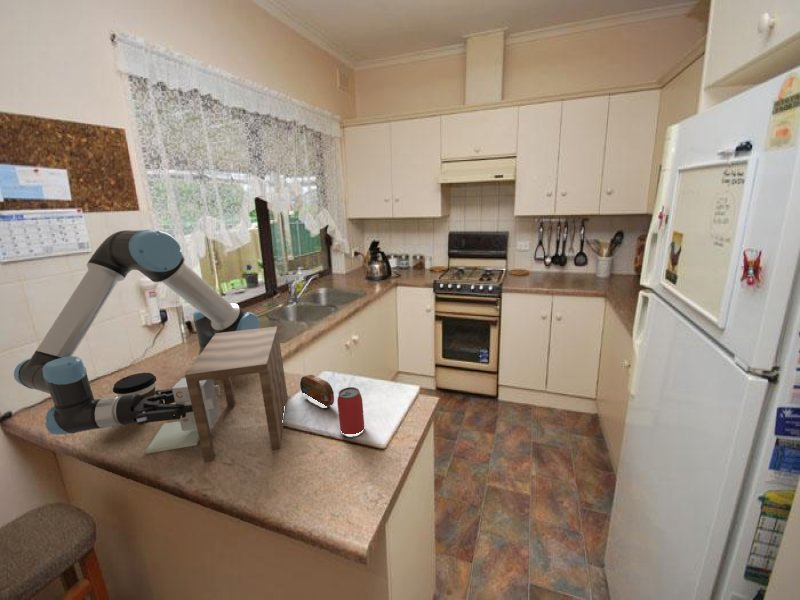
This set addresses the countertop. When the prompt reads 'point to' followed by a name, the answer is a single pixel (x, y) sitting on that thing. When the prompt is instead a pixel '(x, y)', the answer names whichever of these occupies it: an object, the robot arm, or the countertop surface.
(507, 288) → the countertop surface
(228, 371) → the wooden step stool
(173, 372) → the countertop surface
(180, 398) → the small box
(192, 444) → the pad
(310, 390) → the brown rounded flat block
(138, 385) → the coffee cup
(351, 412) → the beer can
